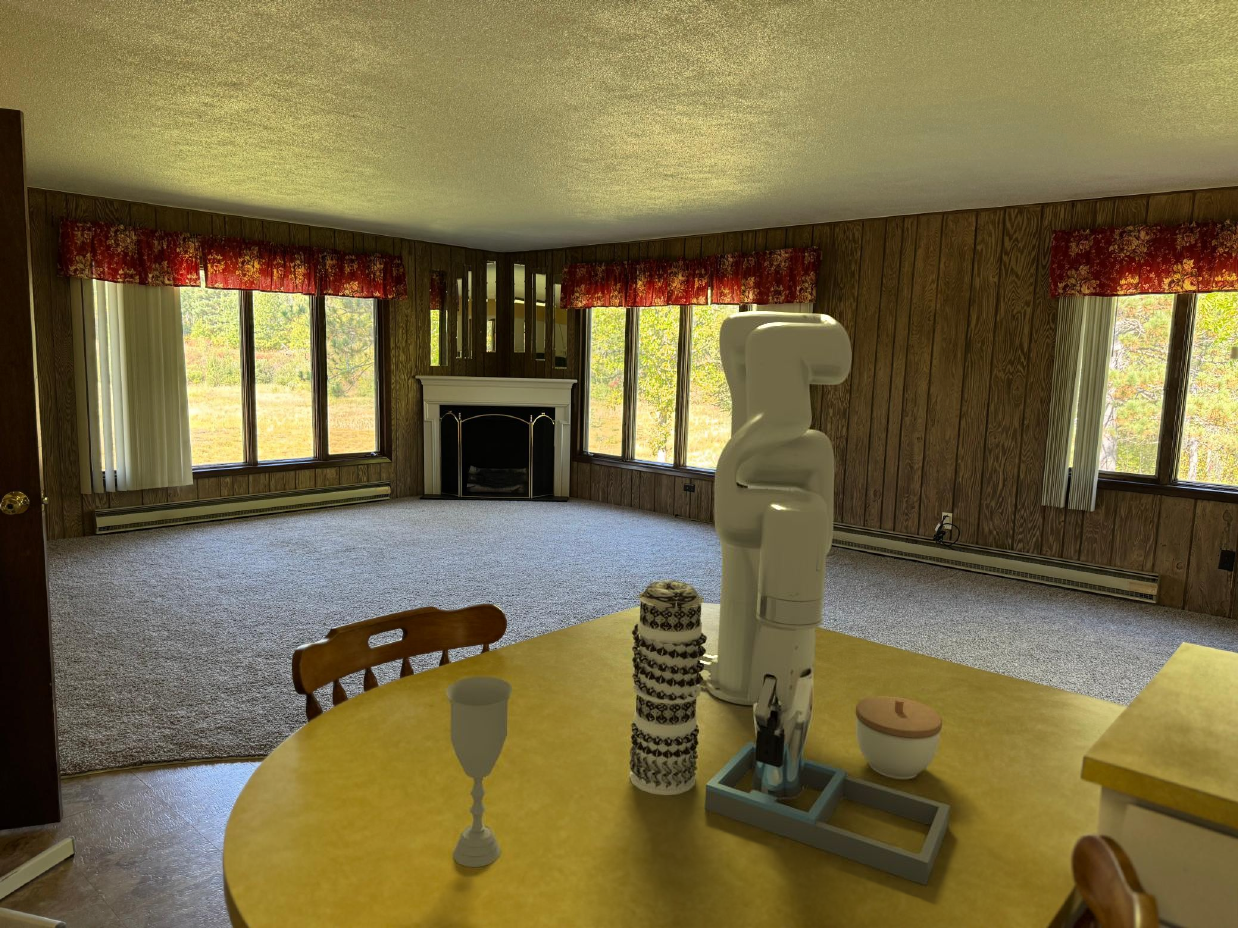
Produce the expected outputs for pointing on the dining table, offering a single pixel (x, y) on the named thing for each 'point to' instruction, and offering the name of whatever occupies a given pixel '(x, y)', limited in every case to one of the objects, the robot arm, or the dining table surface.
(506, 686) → the chalice
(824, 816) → the slot frame
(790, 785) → the beer glass
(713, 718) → the dining table surface
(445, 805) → the dining table surface
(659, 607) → the decorative candle
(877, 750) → the lidded jar
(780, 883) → the dining table surface
